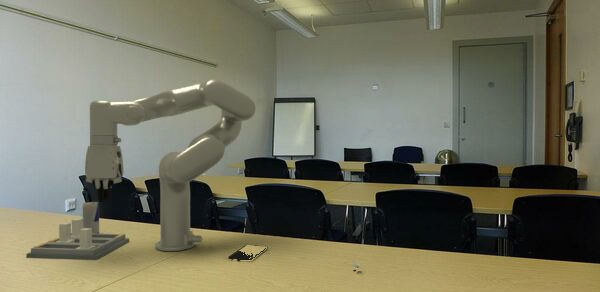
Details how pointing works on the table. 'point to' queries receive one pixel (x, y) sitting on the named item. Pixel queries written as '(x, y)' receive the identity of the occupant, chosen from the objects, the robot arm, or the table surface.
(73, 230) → the right tab
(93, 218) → the energy drink
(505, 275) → the table surface
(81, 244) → the left tab
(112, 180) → the robot arm
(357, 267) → the adhesive hook
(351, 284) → the table surface
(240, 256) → the phone
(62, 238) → the middle tab
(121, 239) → the switch bank
